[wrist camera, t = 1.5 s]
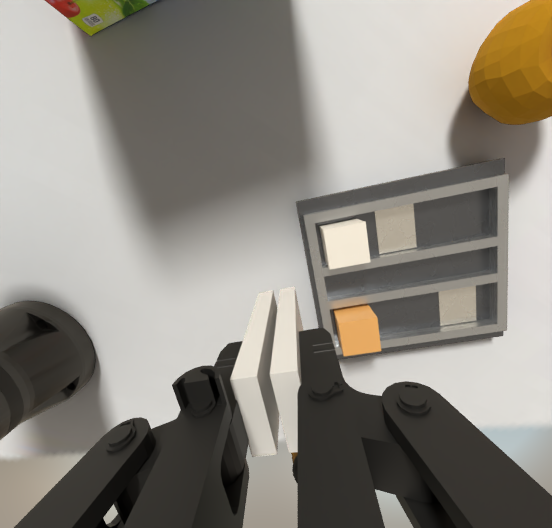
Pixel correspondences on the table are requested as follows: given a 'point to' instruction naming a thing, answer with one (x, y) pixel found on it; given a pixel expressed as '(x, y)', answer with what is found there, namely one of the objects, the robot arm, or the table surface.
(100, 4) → the snack box
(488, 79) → the apple
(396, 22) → the table surface
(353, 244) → the block
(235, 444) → the robot arm
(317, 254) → the grey slotted tray
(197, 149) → the table surface
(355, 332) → the fader orange
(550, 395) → the table surface
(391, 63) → the table surface
